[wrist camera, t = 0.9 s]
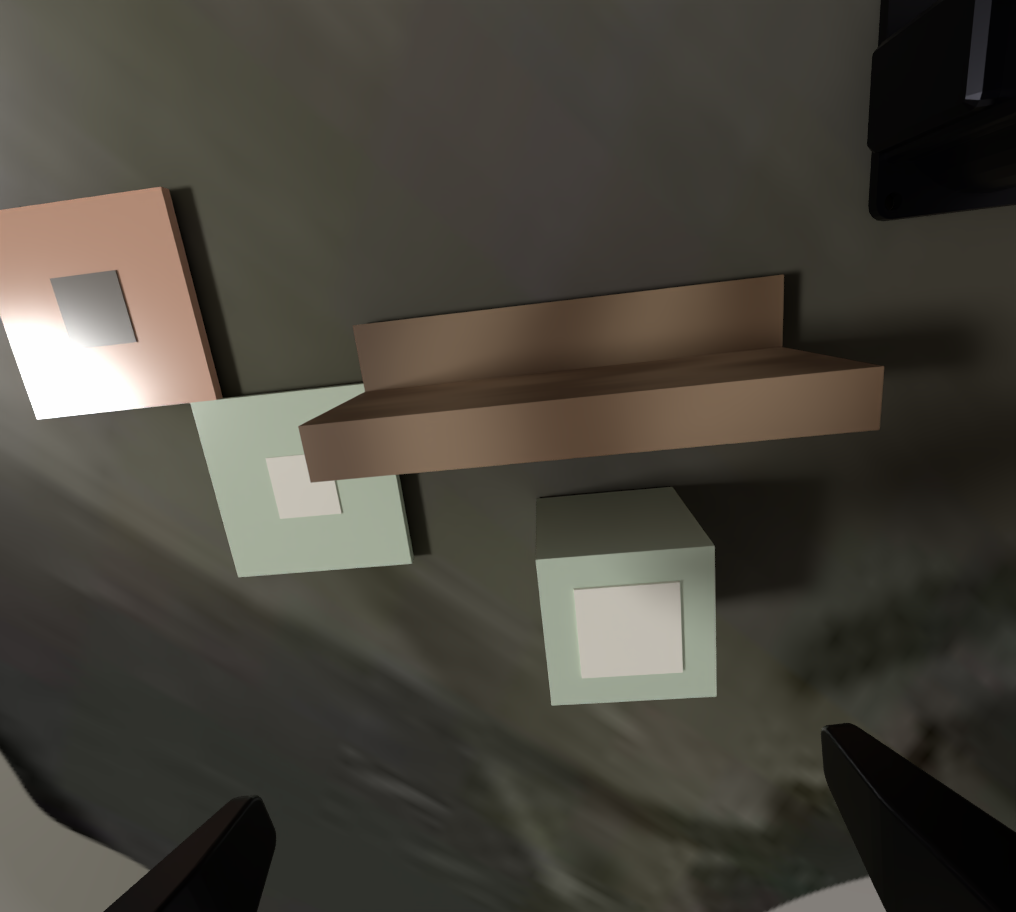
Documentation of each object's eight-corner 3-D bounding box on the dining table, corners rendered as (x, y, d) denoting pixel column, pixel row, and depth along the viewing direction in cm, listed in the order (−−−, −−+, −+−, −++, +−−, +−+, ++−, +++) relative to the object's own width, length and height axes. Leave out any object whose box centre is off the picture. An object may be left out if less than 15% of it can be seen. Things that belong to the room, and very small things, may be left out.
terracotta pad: (168, 189, 18) (159, 186, 17) (222, 397, 20) (215, 400, 19) (-24, 217, 18) (-38, 215, 18) (46, 417, 20) (35, 419, 20)
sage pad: (382, 380, 19) (378, 382, 19) (414, 558, 21) (411, 564, 21) (196, 400, 20) (189, 403, 19) (243, 572, 22) (237, 578, 21)
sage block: (672, 486, 20) (715, 547, 15) (676, 608, 21) (717, 701, 16) (536, 498, 20) (535, 561, 15) (549, 617, 22) (551, 710, 17)
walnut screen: (776, 275, 18) (892, 262, 12) (773, 396, 19) (879, 440, 13) (358, 324, 19) (278, 335, 13) (378, 436, 20) (312, 491, 14)
